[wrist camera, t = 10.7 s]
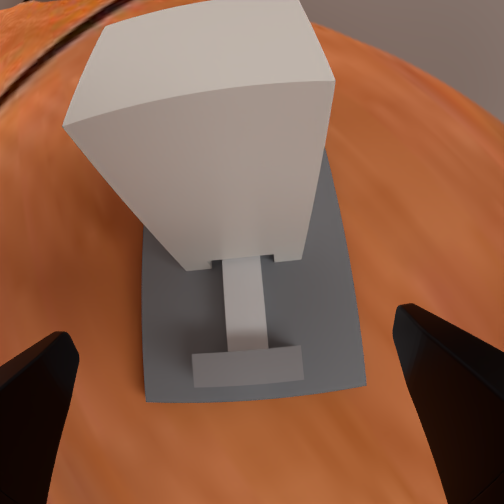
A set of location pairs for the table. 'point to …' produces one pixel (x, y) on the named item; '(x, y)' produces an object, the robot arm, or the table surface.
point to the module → (210, 125)
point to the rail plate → (254, 319)
